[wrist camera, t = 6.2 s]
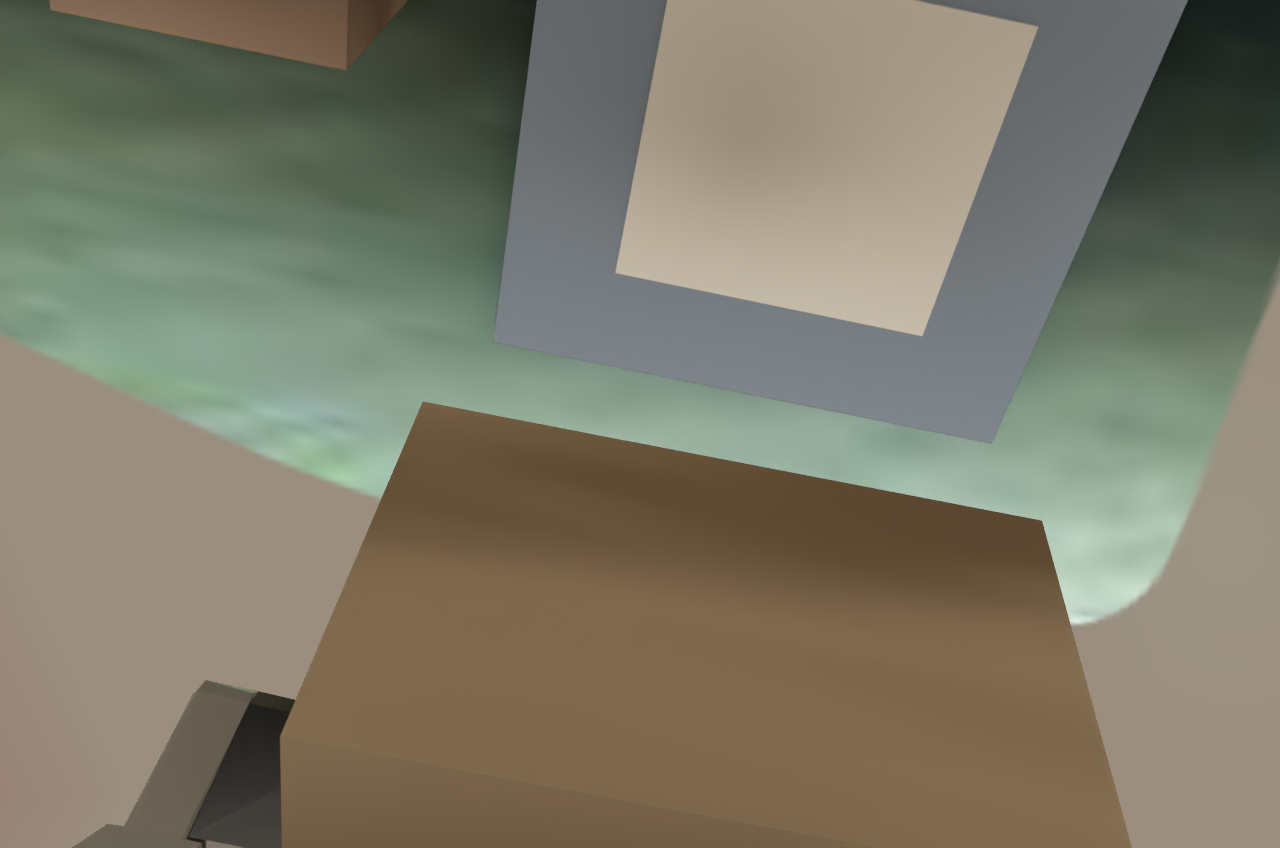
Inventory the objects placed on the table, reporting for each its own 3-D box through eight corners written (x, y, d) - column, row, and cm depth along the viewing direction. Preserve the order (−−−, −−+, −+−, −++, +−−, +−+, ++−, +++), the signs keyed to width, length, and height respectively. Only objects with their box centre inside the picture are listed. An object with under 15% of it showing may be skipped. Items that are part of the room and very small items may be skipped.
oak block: (422, 401, 11) (279, 736, 8) (1042, 521, 11) (1146, 896, 8) (394, 790, 15) (286, 1133, 12) (867, 878, 15) (892, 1241, 12)
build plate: (571, -232, 22) (565, -227, 21) (1214, -92, 22) (1227, -83, 21) (498, 329, 29) (492, 344, 28) (987, 428, 29) (991, 446, 28)
